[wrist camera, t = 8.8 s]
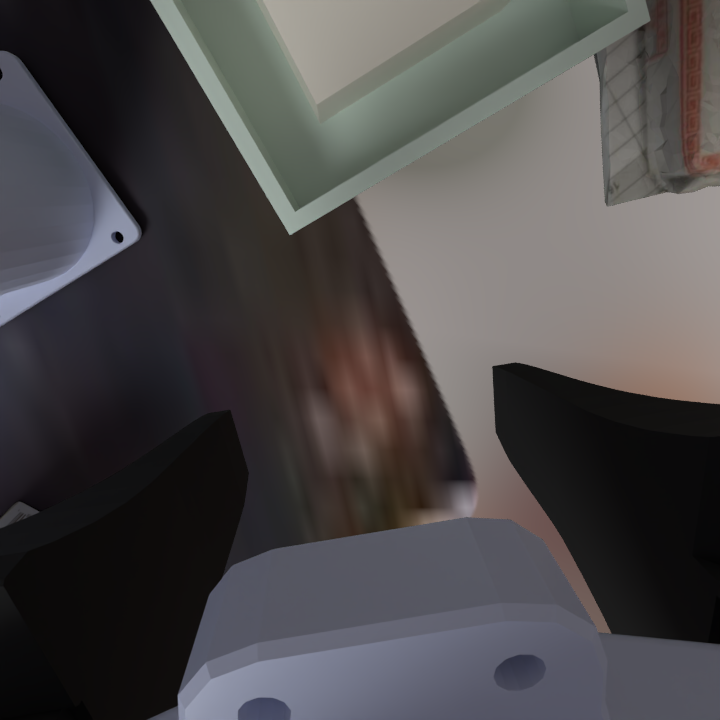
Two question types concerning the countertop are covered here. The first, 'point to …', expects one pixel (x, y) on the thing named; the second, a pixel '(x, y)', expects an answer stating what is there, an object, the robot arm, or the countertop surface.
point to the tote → (376, 92)
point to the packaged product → (662, 103)
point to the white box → (364, 41)
